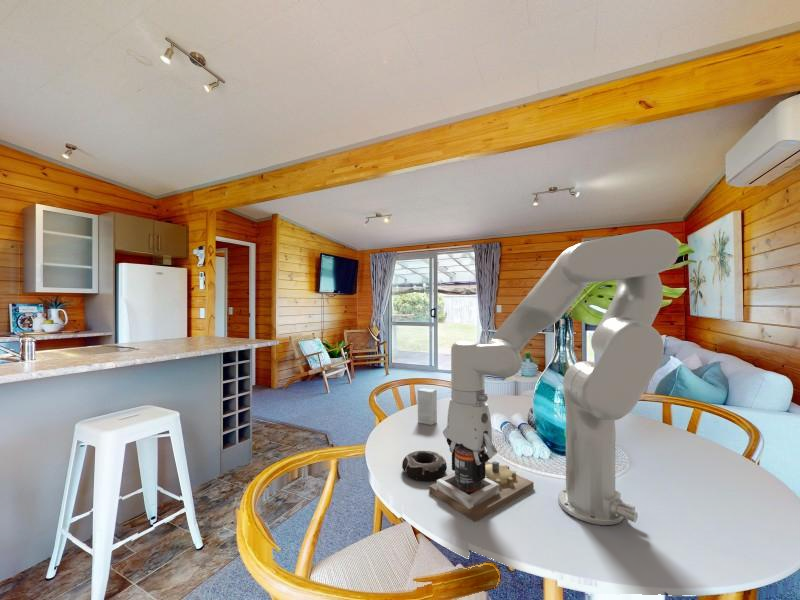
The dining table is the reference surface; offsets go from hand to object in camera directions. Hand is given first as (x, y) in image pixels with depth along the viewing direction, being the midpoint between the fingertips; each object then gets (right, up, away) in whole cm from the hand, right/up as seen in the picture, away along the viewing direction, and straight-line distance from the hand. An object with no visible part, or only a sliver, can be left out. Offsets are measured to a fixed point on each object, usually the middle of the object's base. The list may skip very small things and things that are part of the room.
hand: (468, 473), depth 82 cm
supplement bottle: (0, -3, 0) cm, 3 cm away
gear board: (+4, -5, +3) cm, 7 cm away
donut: (-9, -6, +12) cm, 16 cm away
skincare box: (-6, -6, +50) cm, 51 cm away
